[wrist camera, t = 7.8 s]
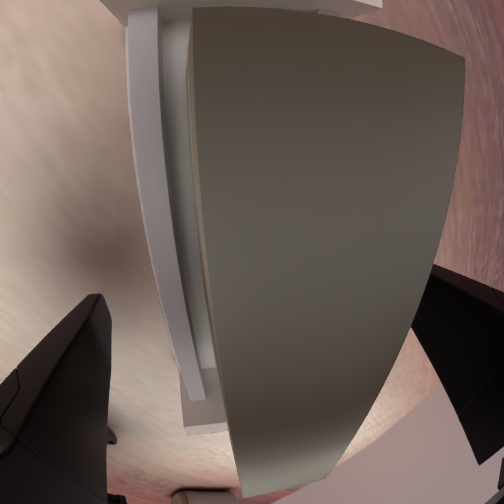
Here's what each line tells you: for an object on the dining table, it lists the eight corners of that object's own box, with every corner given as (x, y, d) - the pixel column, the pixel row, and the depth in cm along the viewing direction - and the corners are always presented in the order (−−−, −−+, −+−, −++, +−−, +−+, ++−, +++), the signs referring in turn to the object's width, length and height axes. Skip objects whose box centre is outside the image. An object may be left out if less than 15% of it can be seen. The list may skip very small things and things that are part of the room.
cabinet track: (294, 345, 18) (322, 410, 14) (181, 362, 17) (187, 435, 13) (310, 10, 9) (380, -21, 5) (132, 12, 8) (101, -34, 4)
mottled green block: (271, 334, 15) (325, 478, 8) (212, 343, 15) (243, 497, 8) (275, 70, 9) (465, 57, 2) (186, 73, 8) (192, 7, 2)
